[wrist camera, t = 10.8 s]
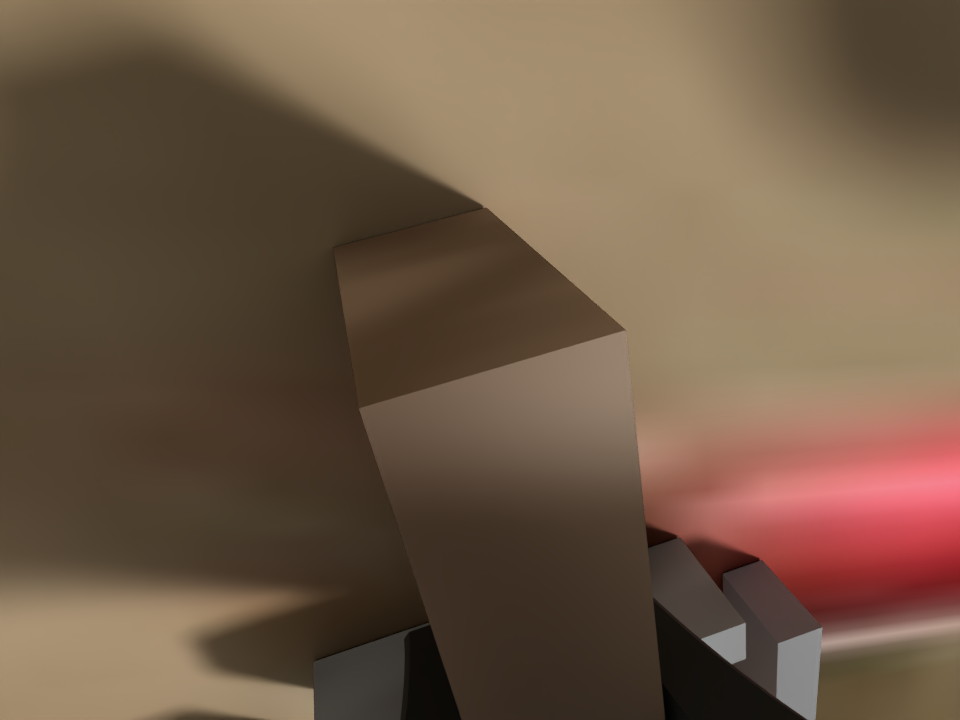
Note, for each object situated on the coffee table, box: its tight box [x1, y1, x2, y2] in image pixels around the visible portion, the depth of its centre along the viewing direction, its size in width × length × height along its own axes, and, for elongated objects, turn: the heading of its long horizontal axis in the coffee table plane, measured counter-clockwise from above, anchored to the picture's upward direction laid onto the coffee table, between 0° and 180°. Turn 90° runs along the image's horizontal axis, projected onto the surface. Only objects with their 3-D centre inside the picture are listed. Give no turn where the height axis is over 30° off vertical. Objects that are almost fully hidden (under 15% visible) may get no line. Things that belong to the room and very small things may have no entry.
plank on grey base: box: [313, 208, 746, 720], centre depth 10 cm, size 8×9×5 cm
